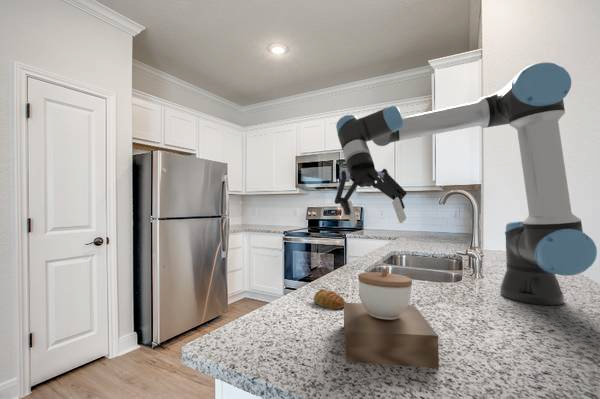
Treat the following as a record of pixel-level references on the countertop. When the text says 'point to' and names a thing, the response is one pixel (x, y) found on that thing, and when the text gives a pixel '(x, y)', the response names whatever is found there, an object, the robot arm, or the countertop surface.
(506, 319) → the countertop surface
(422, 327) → the walnut box
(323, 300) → the pastry
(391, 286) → the lidded jar
